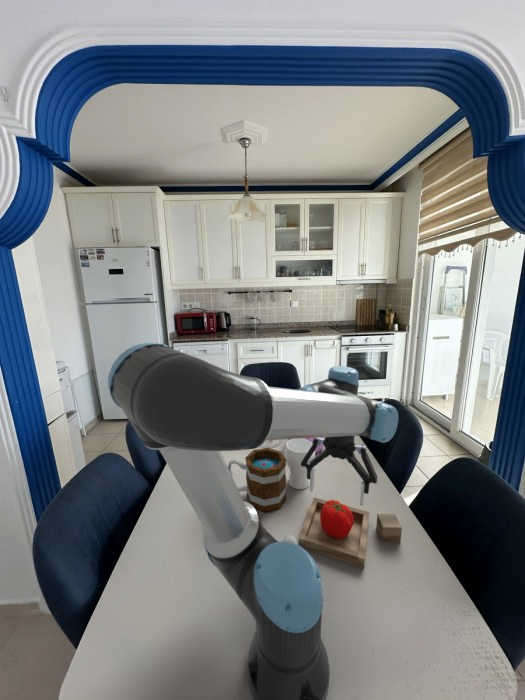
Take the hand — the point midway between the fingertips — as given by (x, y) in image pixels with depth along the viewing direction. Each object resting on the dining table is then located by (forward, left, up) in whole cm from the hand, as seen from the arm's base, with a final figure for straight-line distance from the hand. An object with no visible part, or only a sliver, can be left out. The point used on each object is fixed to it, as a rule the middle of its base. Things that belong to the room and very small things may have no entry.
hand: (336, 495), depth 83 cm
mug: (+5, +27, -13) cm, 30 cm away
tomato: (0, 0, -12) cm, 12 cm away
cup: (+18, +16, -13) cm, 28 cm away
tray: (0, 0, -13) cm, 13 cm away
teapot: (+43, +20, -13) cm, 50 cm away
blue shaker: (-15, +9, -13) cm, 21 cm away
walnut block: (+5, -14, -13) cm, 20 cm away
